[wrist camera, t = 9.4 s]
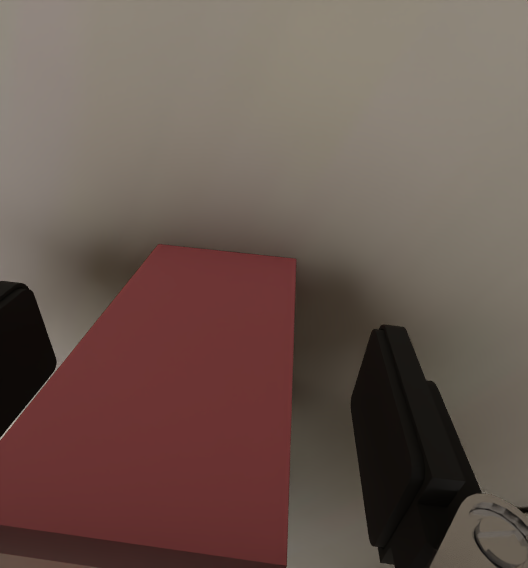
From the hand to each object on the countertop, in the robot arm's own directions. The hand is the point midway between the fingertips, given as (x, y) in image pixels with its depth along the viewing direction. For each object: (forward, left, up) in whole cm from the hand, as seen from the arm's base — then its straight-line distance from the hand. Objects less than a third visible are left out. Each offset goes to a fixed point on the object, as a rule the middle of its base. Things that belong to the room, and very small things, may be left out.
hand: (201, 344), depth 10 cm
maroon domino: (0, 0, -4) cm, 4 cm away
